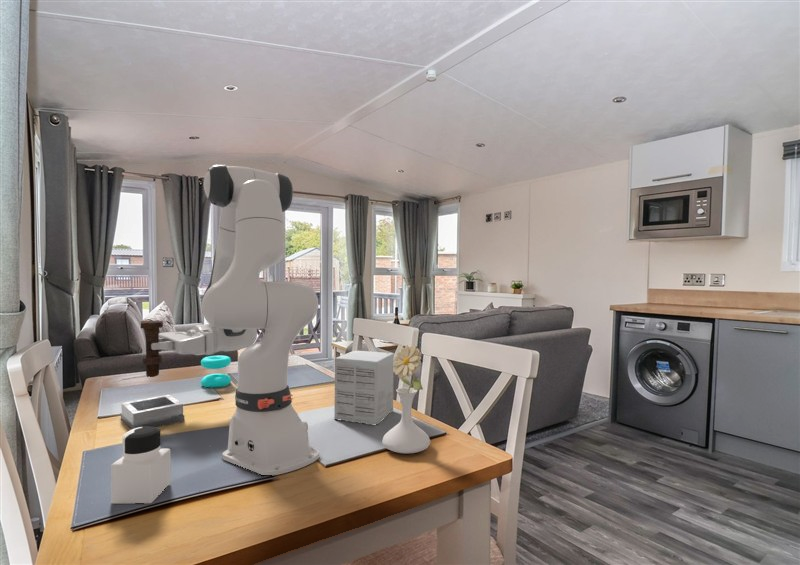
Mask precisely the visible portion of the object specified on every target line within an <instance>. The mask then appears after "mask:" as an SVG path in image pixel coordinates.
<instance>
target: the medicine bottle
mask: <svg viewBox="0 0 800 565" xmlns="http://www.w3.org/2000/svg"><path fill="white" fill-rule="evenodd" d="M161 432H162V431H161V429H160V428H159V427H152V426H144V427H138V428H135V429H130V430H129V431H126V432H124V434H123V435H122V457H120V458H119V459H117V460H115V461H114V462H113V463H111V465H110V491H111V492H110V501H111V504H114V505H115V504H116V505H117V504H119V505H120V504H121V505H122V504H126V505H127V504H129V505H130V504H131V505H132V504H135V503H144V504H152V503H153V502H154V501H155V500H156V499H157V498H158V497H159V496H160V495H161V494H162V493H163V492H164V491H165V490H166V489H167V488H168V487H169V486H170V485H171V482H172V480H171V479H172V478H171V467H172V466H171V457H172V456H171V449H170V448H162V447H161V444H162V443H161V437H162V434H161ZM169 484H170V485H169ZM168 485H169V486H168ZM167 486H168V487H167ZM166 487H167V488H166ZM165 488H166V489H165ZM164 489H165V490H164ZM162 491H163V492H162ZM158 495H159V496H158Z"/></svg>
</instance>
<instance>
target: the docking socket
mask: <svg viewBox="0 0 800 565" xmlns="http://www.w3.org/2000/svg"><path fill="white" fill-rule="evenodd" d="M120 419H121V420H122V421H123V423H125V425H126V426H128V427H129V429H130V430H132V429H135V428H138V427H144V426H152V427H156V428H159V427H164V426H169V425H173V424H178V423H183V422H185V415H184V403H183V402H181V401H179V399H177V398H175V397H174V396H172V395H170V394H165V395H159V396H154V397H148V398H143V399H138V400H132V401H125V402H121V412H120Z"/></svg>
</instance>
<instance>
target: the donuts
mask: <svg viewBox="0 0 800 565" xmlns="http://www.w3.org/2000/svg"><path fill="white" fill-rule="evenodd" d="M231 362H232V359H231V357H230V356H228V355H218V354H217V355H208V356H205V357H202V359H201V360H200V365H201V366H202V367H203V368H205V369H208V370H218V369H224V368H227V367H228V366H229V365H230V364H231ZM231 382H232V378H231V376H230V375H229V374H226V373H211V374H207V375H205V376H203V378H202V379H201V380H200V385H201V386H202V387H203V386H204V387H203V388H206V387H211V388H210V389H216V388H217V389H218V388H223V387H226V386H228V385H230V383H231Z"/></svg>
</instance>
